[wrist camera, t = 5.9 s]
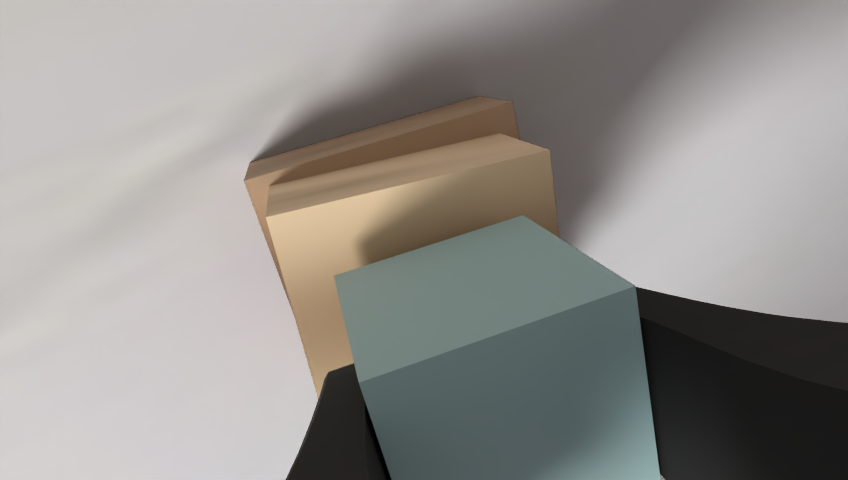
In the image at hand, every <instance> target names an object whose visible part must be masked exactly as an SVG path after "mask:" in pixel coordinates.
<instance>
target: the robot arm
mask: <svg viewBox="0 0 848 480" xmlns="http://www.w3.org/2000/svg"><path fill="white" fill-rule="evenodd" d="M636 294H637V302H638V310H639V317H640V325H641V333H642V340H643V348H644V356H645V363H646V371H647V379H648V386H649V394H650V402H651V409H652V417H653V425H654V432H655V440H656V448H657V456H658V463H659V471H660V474H661V475H662V476H663V477H664V478H665V479H666V480H848V323H841V322H831V321H822V320H812V319H803V318H794V317H786V316H779V315H772V314H765V313H759V312H753V311H748V310H742V309H736V308H730V307H725V306H720V305H715V304H710V303H705V302H700V301H695V300H691V299H686V298H682V297H677V296H673V295H668V294H664V293H660V292H655V291H651V290H647V289H642V288H638V287H636ZM286 480H391V477H390V474H389V471H388V468H387V465H386V462H385V459H384V456H383V453H382V450H381V447H380V444H379V441H378V438H377V435H376V432H375V429H374V426H373V423H372V420H371V418H370V415H369V412H368V409H367V406H366V403H365V400H364V397H363V394H362V391H361V388H360V385H359V382H358V377H357V373H356V369H355V365H354V363H353V364H350V365H347V366H344V367H341V368H338V369H335V370H333V371H330V372H328V373H327V375H326V377H325V379H324V382H323V386H322V389H321V393H320V396H319V399H318V402H317V405H316V408H315V411H314V414H313V417H312V420H311V422H310V425H309V427H308V430H307V432H306V435H305V438H304V440H303V443H302V445H301V448H300V450H299V452H298V455H297V457H296V459H295V461H294V463H293V465H292V468H291V470H290V472H289V474H288V476H287V478H286Z"/></svg>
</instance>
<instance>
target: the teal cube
mask: <svg viewBox="0 0 848 480" xmlns="http://www.w3.org/2000/svg"><path fill="white" fill-rule="evenodd" d="M334 280H335V284H336V288H337V292H338V297H339V301H340V305H341V309H342V314H343V318H344V322H345V326H346V331H347V335H348V339H349V343H350V348H351V352H352V356H353V360H354V365H355V369H356V373H357V377H358V382H359V385H360V388H361V391H362V394H363V397H364V400H365V403H366V406H367V409H368V412H369V415H370V418H371V420H372V423H373V426H374V429H375V432H376V435H377V438H378V441H379V444H380V447H381V450H382V453H383V456H384V459H385V462H386V465H387V468H388V471H389V474H390V477H391V480H661V479H660V471H659V463H658V456H657V448H656V440H655V432H654V425H653V417H652V409H651V402H650V394H649V386H648V379H647V371H646V363H645V356H644V348H643V340H642V333H641V325H640V317H639V310H638V302H637V294H636V287H635V285H633V284H632V283H630V282H628V281H627V280H625V279H624V278H622V277H620V276H619V275H617V274H616V273H614V272H613V271H611V270H609V269H608V268H606V267H605V266H603V265H601V264H600V263H598V262H597V261H595V260H593V259H592V258H590V257H589V256H587V255H586V254H584V253H582V252H581V251H579V250H578V249H576V248H574V247H573V246H571V245H570V244H568V243H567V242H565V241H563V240H562V239H560V238H559V237H557V236H555V235H554V234H552V233H551V232H549V231H547V230H546V229H544V228H543V227H541V226H540V225H538V224H536V223H535V222H533V221H532V220H530V219H528V218H527V217H525V216H524V215H522V216H519V217H515V218H512V219H509V220H506V221H503V222H500V223H497V224H494V225H491V226H487V227H484V228H481V229H478V230H475V231H472V232H469V233H466V234H462V235H459V236H456V237H453V238H450V239H447V240H444V241H441V242H438V243H434V244H431V245H428V246H425V247H422V248H419V249H416V250H413V251H409V252H406V253H403V254H400V255H397V256H394V257H391V258H388V259H385V260H381V261H378V262H375V263H372V264H369V265H366V266H363V267H360V268H356V269H353V270H350V271H347V272H344V273H341V274H338V275H335V276H334Z"/></svg>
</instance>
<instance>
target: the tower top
mask: <svg viewBox="0 0 848 480" xmlns="http://www.w3.org/2000/svg"><path fill="white" fill-rule="evenodd" d="M522 215H524V216H525V217H527V218H528V219H530V220H532V221H533V222H535V223H536V224H538V225H540V226H541V227H543V228H544V229H546V230H547V231H549V232H551V233H552V234H554V235H555V236H557V237H559V230H558V221H557V212H556V203H555V194H554V185H553V175H552V166H551V157H550V150H549V149H546V148H543V147H540V146H537V145H534V144H531V143H528V142H525V141H522V140H519V139H516V138H513V137H510V136H507V135H504V134H501V133H498V134H494V135H490V136H485V137H481V138H476V139H472V140H468V141H463V142H459V143H455V144H450V145H446V146H441V147H437V148H433V149H428V150H424V151H420V152H415V153H411V154H407V155H402V156H398V157H393V158H389V159H385V160H380V161H376V162H372V163H367V164H363V165H358V166H354V167H350V168H345V169H341V170H337V171H332V172H328V173H324V174H319V175H315V176H311V177H306V178H302V179H297V180H293V181H289V182H284V183H280V184H276V185H271V186H269V190H268V199H267V209H266V220H267V224H268V227H269V231H270V234H271V238H272V241H273V244H274V248H275V251H276V255H277V258H278V262H279V265H280V268H281V272H282V275H283V279H284V282H285V286H286V289H287V293H288V296H289V299H290V303H291V306H292V310H293V313H294V317H295V320H296V323H297V327H298V330H299V334H300V337H301V341H302V344H303V348H304V351H305V354H306V358H307V361H308V365H309V368H310V372H311V375H312V378H313V382H314V385H315V389H316V392H317V396H318V399H319V396H320V393H321V389H322V386H323V382H324V379H325V377H326V375H327V373H328V372H330V371H333V370H335V369H338V368H341V367H344V366H347V365H350V364H353V363H354V360H353V356H352V352H351V348H350V343H349V339H348V335H347V331H346V326H345V322H344V318H343V314H342V309H341V305H340V301H339V297H338V292H337V288H336V284H335V280H334V276H335V275H338V274H341V273H344V272H347V271H350V270H353V269H356V268H360V267H363V266H366V265H369V264H372V263H375V262H378V261H381V260H385V259H388V258H391V257H394V256H397V255H400V254H403V253H406V252H409V251H413V250H416V249H419V248H422V247H425V246H428V245H431V244H434V243H438V242H441V241H444V240H447V239H450V238H453V237H456V236H459V235H462V234H466V233H469V232H472V231H475V230H478V229H481V228H484V227H487V226H491V225H494V224H497V223H500V222H503V221H506V220H509V219H512V218H515V217H519V216H522Z"/></svg>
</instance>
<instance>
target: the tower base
mask: <svg viewBox="0 0 848 480" xmlns="http://www.w3.org/2000/svg"><path fill="white" fill-rule="evenodd" d="M498 133H501V134H504V135H507V136H510V137H513V138H516V139H519V134H518V128H517V123H516V118H515V113H514V107H513V102H511V101H506V100H500V99H494V98H489V97H483V96H477V97H474V98H470V99H467V100H463V101H460V102H457V103H453V104H450V105H446V106H443V107H439V108H436V109H432V110H429V111H426V112H422V113H419V114H415V115H412V116H408V117H405V118H401V119H398V120H395V121H391V122H388V123H384V124H381V125H377V126H374V127H370V128H367V129H364V130H360V131H357V132H353V133H350V134H346V135H343V136H339V137H336V138H333V139H329V140H326V141H322V142H319V143H315V144H312V145H309V146H305V147H302V148H298V149H295V150H291V151H288V152H284V153H281V154H278V155H274V156H271V157H267V158H264V159H260V160H257V161H253V162H250V164H249V167H248V170H247V173H246V176H245V179H244V182H245V185H246V188H247V190H248V193H249V196H250V198H251V201H252V204H253V206H254V209H255V212H256V214H257V217H258V220H259V222H260V225H261V228H262V231H263V233H264V236H265V239H266V241H267V244H268V247H269V249H270V252H271V255H272V257H273V260H274V263H275V265H276V268H277V271H278V273H279V276H280V279H281V281H282V284H283V287H284V290H285V292H286V295H287V298H288V300H289V303H290V299H289V296H288V293H287V289H286V286H285V282H284V279H283V275H282V272H281V268H280V265H279V262H278V258H277V255H276V251H275V248H274V244H273V241H272V238H271V234H270V231H269V227H268V224H267V220H266V209H267V199H268V190H269V186H271V185H276V184H280V183H284V182H289V181H293V180H297V179H302V178H306V177H311V176H315V175H319V174H324V173H328V172H332V171H337V170H341V169H345V168H350V167H354V166H358V165H363V164H367V163H372V162H376V161H380V160H385V159H389V158H393V157H398V156H402V155H407V154H411V153H415V152H420V151H424V150H428V149H433V148H437V147H441V146H446V145H450V144H455V143H459V142H463V141H468V140H472V139H476V138H481V137H485V136H490V135H494V134H498ZM519 140H520V139H519ZM290 306H291V303H290ZM291 308H292V306H291ZM292 311H293V310H292ZM293 314H294V313H293Z"/></svg>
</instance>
